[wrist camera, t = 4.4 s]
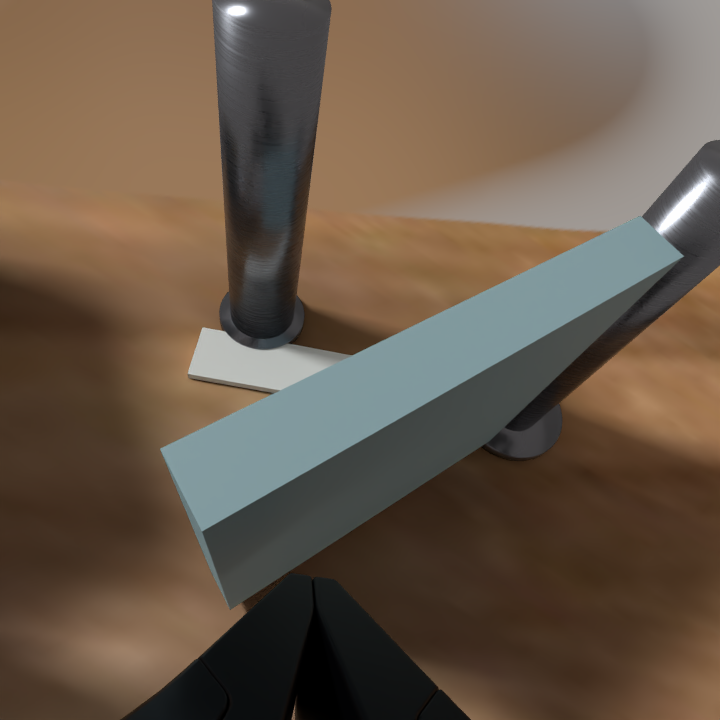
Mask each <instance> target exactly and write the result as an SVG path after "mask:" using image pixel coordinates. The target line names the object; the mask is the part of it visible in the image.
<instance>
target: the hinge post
mask: <svg viewBox="0 0 720 720" xmlns="http://www.w3.org/2000/svg"><path fill="white" fill-rule="evenodd" d="M642 218H643V219H644V220H645V221H646V222H648V223H649V224H650V225H651V226H652V227H653V228H654V229H655V230H656V231H657V232H658V233H659V234H660V235H662V236H663V237H664V238H665V239H666V240H667V241H668V242H669V243H670V244H671V245H672V246H673V247H675V248H676V249H677V250H678V251H679V252H680V253H681V254H682V255H683V256H684V257H683V258H682V259H681V260H680V261H678V262H677V263H676V264H675V265H674V266H673V267H672V268H671V269H670V270H669V271H668V272H667V273H666V274H665V275H664V276H663V277H662V278H661V279H660V280H658V281H657V282H656V283H655V284H654V285H653V286H652V287H651V288H650V289H649V290H648V291H647V292H646V293H645V294H644V295H643V296H642V297H641V298H640V299H638V300H637V301H636V302H635V303H634V304H633V305H632V306H631V307H630V308H629V309H628V310H627V311H626V312H625V313H624V314H623V315H622V316H621V317H620V318H618V319H617V320H616V321H615V322H614V323H613V324H612V325H611V326H610V327H609V328H608V329H607V330H606V331H605V332H604V333H603V334H602V335H601V336H600V337H599V338H597V339H596V340H595V341H594V342H593V343H592V344H591V345H590V346H589V347H588V348H587V349H586V350H585V351H584V352H583V353H582V354H581V355H580V356H579V357H577V358H576V359H575V360H574V361H573V362H572V363H571V364H570V365H569V366H568V367H567V368H566V369H565V370H564V371H563V372H562V373H561V374H560V375H559V376H557V377H556V378H555V379H554V380H553V381H552V382H551V383H550V384H549V385H548V386H547V387H546V388H545V389H544V390H543V391H542V392H541V393H540V394H539V395H537V396H536V397H535V398H534V399H533V400H532V401H531V402H530V403H529V404H528V405H527V406H526V407H525V408H524V409H523V410H522V411H521V412H520V413H519V414H517V415H516V416H515V417H514V418H513V419H512V420H511V421H510V422H509V423H508V424H507V425H506V426H505V427H504V428H503V429H502V430H501V431H500V432H499V433H497V434H496V435H495V436H494V437H493V438H492V439H491V440H490V441H489V442H487V443H486V444H484V445H483V446H482V447H483V448H484V449H485V450H487V451H489V452H490V453H492V454H494V455H496V456H498V457H501V458H504V459H508V460H514V461H525V460H530V459H533V458H536V457H538V456H540V455H542V454H543V453H544V452H546V451H547V450H548V449H550V448H551V447H552V446H553V445H554V444H555V442H556V441H557V439H558V437H559V435H560V432H561V429H562V413H561V408H560V405H559V403H560V402H561V401H562V400H563V399H565V398H566V397H567V396H568V395H569V394H570V393H572V392H573V391H574V390H575V389H576V388H577V387H579V386H580V385H581V384H582V383H583V382H584V381H586V380H587V379H588V378H589V377H590V376H591V375H593V374H594V373H595V372H596V371H597V370H598V369H600V368H601V367H602V366H603V365H604V364H605V363H607V362H608V361H609V360H610V359H611V358H612V357H614V356H615V355H616V354H617V353H618V352H619V351H621V350H622V349H623V348H624V347H625V346H626V345H628V344H629V343H630V342H631V341H632V340H633V339H635V338H636V337H637V336H638V335H639V334H640V333H642V332H643V331H644V330H645V329H646V328H647V327H648V326H650V325H651V324H652V323H653V322H654V321H655V320H657V319H658V318H659V317H660V316H661V315H662V314H664V313H665V312H666V311H667V310H668V309H669V308H671V307H672V306H673V305H674V304H675V303H676V302H678V301H679V300H680V299H681V298H682V297H683V296H685V295H686V294H687V293H688V292H689V291H690V290H692V289H693V288H694V287H695V286H696V285H697V284H699V283H700V282H701V281H702V280H703V279H704V278H706V277H707V276H708V275H709V274H710V273H711V272H713V271H714V270H715V269H716V268H717V267H718V266H720V140H715V141H711V142H708V143H706V144H705V145H704V146H703V147H702V148H701V149H700V150H699V151H698V153H697V154H696V155H695V156H694V157H693V158H692V160H691V161H690V162H689V163H688V164H687V165H686V167H685V168H684V169H683V170H682V171H681V172H680V173H679V175H678V176H677V177H676V178H675V179H674V180H673V181H672V183H671V184H670V185H669V186H668V187H667V188H666V190H665V191H664V192H663V193H662V194H661V196H659V198H658V199H657V200H656V201H655V202H654V203H653V205H652V206H651V207H650V208H649V209H648V210H647V212H646V213H645V214H644V215H643V216H642Z"/></svg>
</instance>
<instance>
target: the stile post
mask: <svg viewBox="0 0 720 720" xmlns="http://www.w3.org/2000/svg"><path fill="white" fill-rule="evenodd" d="M212 3H213V21H214V39H215V55H216V71H217V72H216V73H217V90H218V108H219V125H220V142H221V159H222V176H223V194H224V211H225V228H226V246H227V263H228V280H229V292H228V293H227V294H226V295H225V297H224V298H223V300H222V303H221V306H220V324H221V328H222V330H223V331H225V332H226V333H227V334H228V335H229V336H230V337H231V338H232V339H233V340H234V341H236V342H237V343H239V344H241V345H243V346H246V347H249V348H253V349H263V350H265V349H273V348H277V347H280V346H283V345H285V344H287V343H288V344H292V343H294V341H295V340H296V339H297V338H298V337H299V335H300V333H301V331H302V328H303V323H304V308H303V305H302V303H301V301H300V299H299V297H298V296H297V287H298V279H299V270H300V262H301V254H302V246H303V238H304V230H305V221H306V213H307V205H308V197H309V189H310V179H311V172H312V163H313V155H314V147H315V139H316V131H317V123H318V114H319V107H320V97H321V89H322V82H323V73H324V65H325V57H326V49H327V40H328V32H329V25H330V16H331V4H330V1H329V0H212Z"/></svg>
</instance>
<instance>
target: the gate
mask: <svg viewBox="0 0 720 720" xmlns="http://www.w3.org/2000/svg"><path fill="white" fill-rule="evenodd" d="M683 257H684V256H683V255H682V254H681V253H680V252H679V251H678V250H677V249H676V248H675V247H673V246H672V245H671V244H670V243H669V242H668V241H667V240H666V239H665V238H664V237H663V236H662V235H660V234H659V233H658V232H657V231H656V230H655V229H654V228H653V227H652V226H651V225H650V224H649V223H648V222H646V221H645V220H644V219H643V218H642V217H641V216H639V217H637V218H634V219H632V220H630V221H628V222H626V223H624V224H622V225H620V226H618V227H616V228H614V229H612V230H610V231H608V232H606V233H604V234H602V235H599V236H597V237H595V238H593V239H591V240H589V241H587V242H585V243H583V244H581V245H579V246H577V247H575V248H573V249H571V250H569V251H566V252H564V253H562V254H560V255H558V256H556V257H554V258H552V259H550V260H548V261H546V262H544V263H542V264H540V265H538V266H536V267H534V268H531V269H529V270H527V271H525V272H523V273H521V274H519V275H517V276H515V277H513V278H511V279H509V280H507V281H505V282H503V283H501V284H499V285H496V286H494V287H492V288H490V289H488V290H486V291H484V292H482V293H480V294H478V295H476V296H474V297H472V298H470V299H468V300H466V301H464V302H461V303H459V304H457V305H455V306H453V307H451V308H449V309H447V310H445V311H443V312H441V313H439V314H437V315H435V316H433V317H431V318H428V319H426V320H424V321H422V322H420V323H418V324H416V325H414V326H412V327H410V328H408V329H406V330H404V331H402V332H400V333H398V334H396V335H393V336H391V337H389V338H387V339H385V340H383V341H381V342H379V343H377V344H375V345H373V346H371V347H369V348H367V349H365V350H363V351H361V352H358V353H356V354H354V355H352V356H350V357H348V358H346V359H344V360H342V361H340V362H338V363H336V364H334V365H332V366H330V367H328V368H325V369H323V370H321V371H319V372H317V373H315V374H313V375H311V376H309V377H307V378H305V379H303V380H301V381H299V382H297V383H295V384H293V385H290V386H288V387H286V388H284V389H282V390H280V391H278V392H276V393H274V394H272V395H270V396H268V397H266V398H264V399H262V400H260V401H258V402H255V403H253V404H251V405H249V406H247V407H245V408H243V409H241V410H239V411H237V412H235V413H233V414H231V415H229V416H227V417H225V418H223V419H220V420H218V421H216V422H214V423H212V424H210V425H208V426H206V427H204V428H202V429H200V430H198V431H196V432H194V433H192V434H190V435H187V436H185V437H183V438H181V439H179V440H177V441H175V442H173V443H171V444H169V445H167V446H165V447H163V448H161V449H160V450H161V452H162V455H163V457H164V460H165V462H166V464H167V467H168V469H169V472H170V474H171V476H172V479H173V481H174V484H175V486H176V488H177V491H178V493H179V496H180V498H181V501H182V503H183V505H184V508H185V510H186V513H187V515H188V517H189V520H190V522H191V525H192V527H193V529H194V532H195V534H196V537H197V539H198V541H199V544H200V546H201V549H202V551H203V553H204V556H205V558H206V561H207V563H208V565H209V568H210V570H211V572H212V574H213V577H214V579H215V581H216V583H217V585H218V587H219V589H220V591H221V593H222V595H223V597H224V599H225V601H226V603H227V605H228V607H229V609H230V610H231V609H232V608H234V607H235V606H237V605H238V604H240V603H242V602H243V601H245V600H246V599H248V598H249V597H251V596H252V595H254V594H255V593H257V592H258V591H260V590H261V589H263V588H265V587H266V586H268V585H269V584H271V583H272V582H274V581H275V580H277V579H278V578H280V577H281V576H283V575H285V574H286V573H288V572H289V571H291V570H292V569H294V568H295V567H297V566H298V565H300V564H301V563H303V562H304V561H306V560H308V559H309V558H311V557H312V556H314V555H315V554H317V553H318V552H320V551H321V550H323V549H324V548H326V547H328V546H329V545H331V544H332V543H334V542H335V541H337V540H338V539H340V538H341V537H343V536H344V535H346V534H347V533H349V532H351V531H352V530H354V529H355V528H357V527H358V526H360V525H361V524H363V523H364V522H366V521H367V520H369V519H371V518H372V517H374V516H375V515H377V514H378V513H380V512H381V511H383V510H384V509H386V508H387V507H389V506H390V505H392V504H394V503H395V502H397V501H398V500H400V499H401V498H403V497H404V496H406V495H407V494H409V493H410V492H412V491H414V490H415V489H417V488H418V487H420V486H421V485H423V484H424V483H426V482H427V481H429V480H430V479H432V478H433V477H435V476H437V475H438V474H440V473H441V472H443V471H444V470H446V469H447V468H449V467H450V466H452V465H453V464H455V463H457V462H458V461H460V460H461V459H463V458H464V457H466V456H467V455H469V454H470V453H472V452H473V451H475V450H477V449H478V448H480V447H481V446H483V445H484V444H486V443H487V442H489V441H490V440H491V439H492V438H493V437H494V436H495V435H496V434H497V433H499V432H500V431H501V430H502V429H503V428H504V427H505V426H506V425H507V424H508V423H509V422H510V421H511V420H512V419H513V418H514V417H515V416H516V415H517V414H519V413H520V412H521V411H522V410H523V409H524V408H525V407H526V406H527V405H528V404H529V403H530V402H531V401H532V400H533V399H534V398H535V397H536V396H537V395H539V394H540V393H541V392H542V391H543V390H544V389H545V388H546V387H547V386H548V385H549V384H550V383H551V382H552V381H553V380H554V379H555V378H556V377H557V376H559V375H560V374H561V373H562V372H563V371H564V370H565V369H566V368H567V367H568V366H569V365H570V364H571V363H572V362H573V361H574V360H575V359H576V358H577V357H579V356H580V355H581V354H582V353H583V352H584V351H585V350H586V349H587V348H588V347H589V346H590V345H591V344H592V343H593V342H594V341H595V340H596V339H597V338H599V337H600V336H601V335H602V334H603V333H604V332H605V331H606V330H607V329H608V328H609V327H610V326H611V325H612V324H613V323H614V322H615V321H616V320H617V319H618V318H620V317H621V316H622V315H623V314H624V313H625V312H626V311H627V310H628V309H629V308H630V307H631V306H632V305H633V304H634V303H635V302H636V301H637V300H638V299H640V298H641V297H642V296H643V295H644V294H645V293H646V292H647V291H648V290H649V289H650V288H651V287H652V286H653V285H654V284H655V283H656V282H657V281H658V280H660V279H661V278H662V277H663V276H664V275H665V274H666V273H667V272H668V271H669V270H670V269H671V268H672V267H673V266H674V265H675V264H676V263H677V262H678V261H680V260H681V259H682V258H683Z"/></svg>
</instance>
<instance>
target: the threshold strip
mask: <svg viewBox="0 0 720 720" xmlns="http://www.w3.org/2000/svg"><path fill="white" fill-rule="evenodd" d="M350 356H352V355H347V354H342V353H336V352H331V351H326V350H320V349H315V348H310V347H304V346H299V345H294V344H288V343H287V344H285V345H283V346H280V347H277V348H273V349H265V350H263V349H253V348H249V347H246V346H243V345H241V344H239V343H237V342H236V341H234V340H233V339H232V338H231V337H230V336H229V335H228V334H227V333H226V332H225V331H219V330H214V329H209V328H202V331H201V334H200V337H199V340H198V343H197V346H196V349H195V352H194V356H193V359H192V362H191V365H190V368H189V371H188V378H192V379H198V380H203V381H209V382H215V383H220V384H226V385H231V386H237V387H243V388H248V389H254V390H259V391H265V392H271V393H276V392H278V391H280V390H282V389H284V388H286V387H288V386H290V385H293V384H295V383H297V382H299V381H301V380H303V379H305V378H307V377H309V376H311V375H313V374H315V373H317V372H319V371H321V370H323V369H325V368H328V367H330V366H332V365H334V364H336V363H338V362H340V361H342V360H344V359H346V358H348V357H350Z"/></svg>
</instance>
